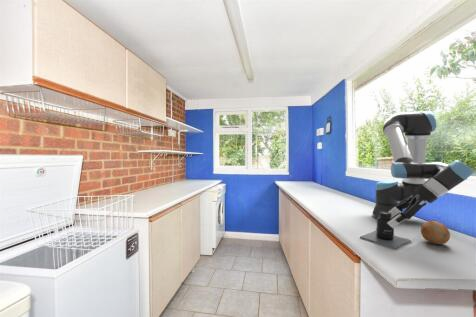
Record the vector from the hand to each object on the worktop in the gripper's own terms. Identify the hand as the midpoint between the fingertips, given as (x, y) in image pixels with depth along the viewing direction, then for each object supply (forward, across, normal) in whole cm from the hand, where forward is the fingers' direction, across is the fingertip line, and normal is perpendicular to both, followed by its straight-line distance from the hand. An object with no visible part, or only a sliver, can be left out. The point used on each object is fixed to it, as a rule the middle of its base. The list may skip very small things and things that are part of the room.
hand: (387, 221), depth 101 cm
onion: (-6, +6, -19) cm, 21 cm away
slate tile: (+7, 0, -6) cm, 9 cm away
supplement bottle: (+7, +1, -5) cm, 9 cm away
